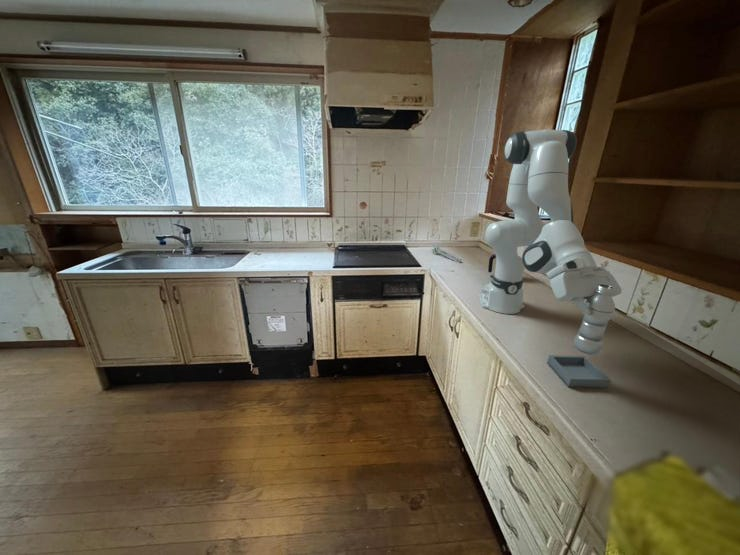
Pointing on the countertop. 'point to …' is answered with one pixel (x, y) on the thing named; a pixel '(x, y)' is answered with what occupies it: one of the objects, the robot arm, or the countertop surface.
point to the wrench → (444, 253)
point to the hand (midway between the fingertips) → (599, 313)
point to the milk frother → (491, 264)
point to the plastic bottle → (595, 320)
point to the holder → (578, 372)
